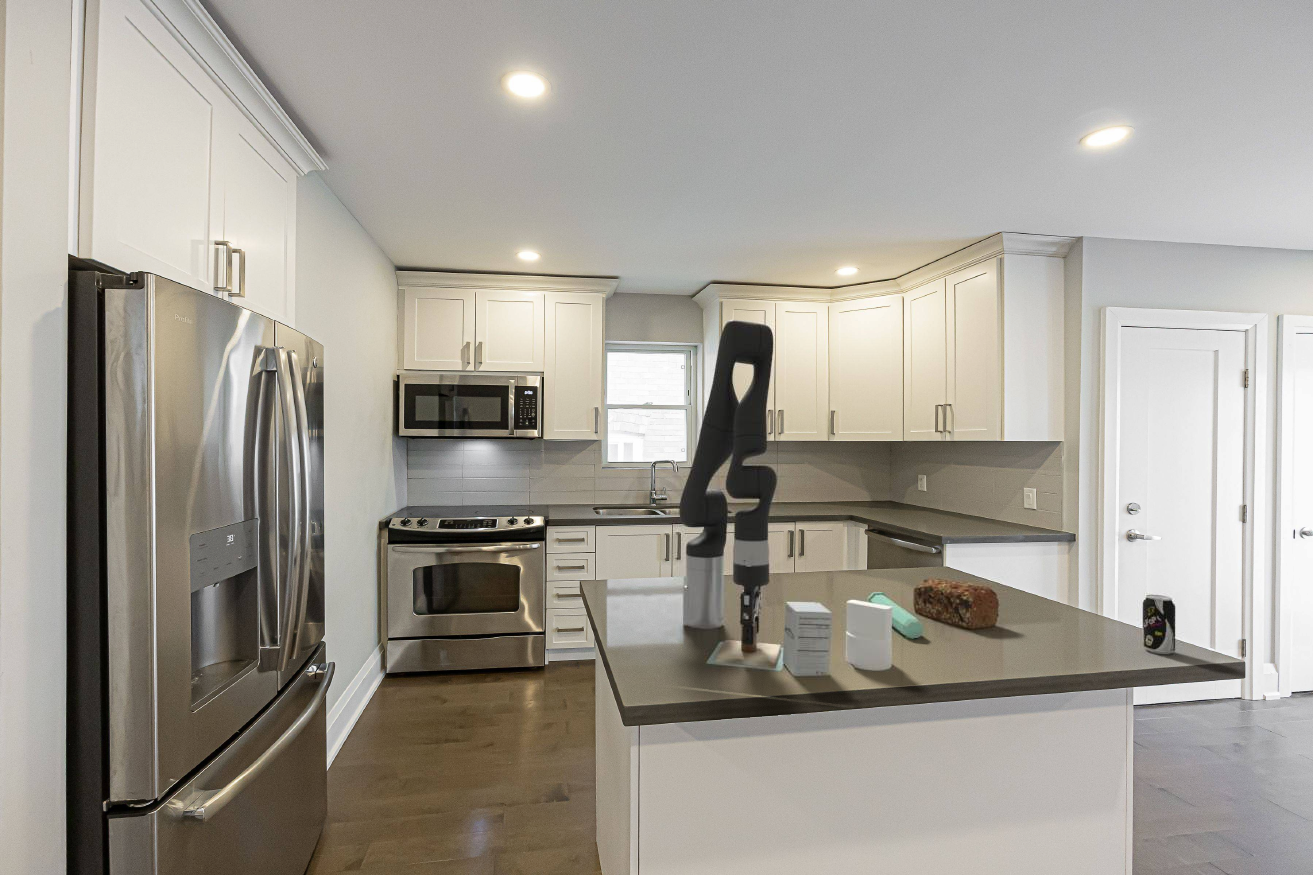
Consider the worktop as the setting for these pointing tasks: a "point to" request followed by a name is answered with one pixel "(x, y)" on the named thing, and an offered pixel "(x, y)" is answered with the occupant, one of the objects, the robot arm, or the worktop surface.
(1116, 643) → the worktop surface
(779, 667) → the mat
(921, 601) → the bread
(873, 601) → the container
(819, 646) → the supplement box
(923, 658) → the worktop surface
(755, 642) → the lid
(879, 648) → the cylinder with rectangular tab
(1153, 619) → the beverage can
